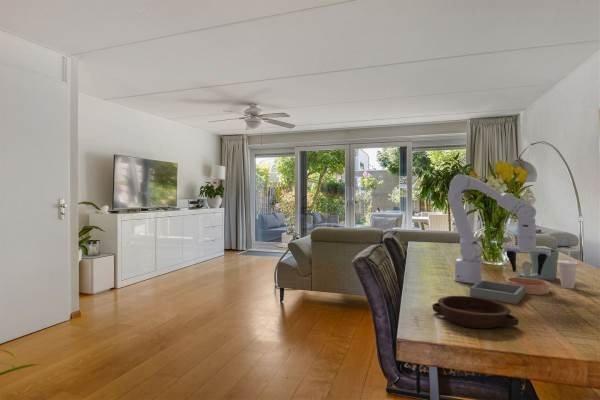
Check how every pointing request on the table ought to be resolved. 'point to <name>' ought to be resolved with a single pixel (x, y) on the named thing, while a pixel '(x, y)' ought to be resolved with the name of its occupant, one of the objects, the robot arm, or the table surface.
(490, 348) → the table surface
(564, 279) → the smoothie
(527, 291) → the bowl
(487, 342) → the table surface
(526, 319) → the table surface
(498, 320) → the dish
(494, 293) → the gray square frame
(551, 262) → the grey green pot
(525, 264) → the pacifier
